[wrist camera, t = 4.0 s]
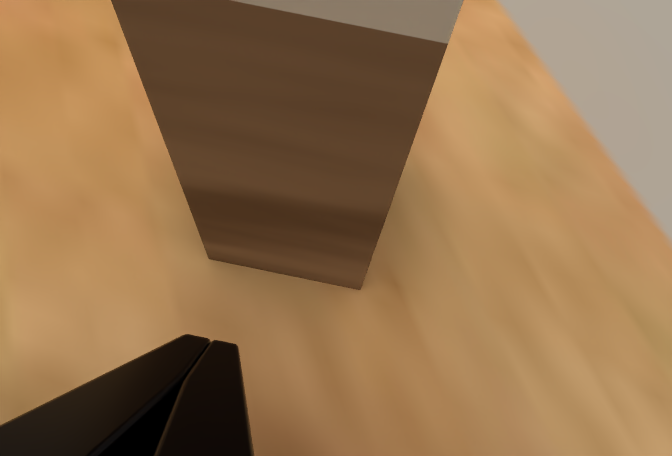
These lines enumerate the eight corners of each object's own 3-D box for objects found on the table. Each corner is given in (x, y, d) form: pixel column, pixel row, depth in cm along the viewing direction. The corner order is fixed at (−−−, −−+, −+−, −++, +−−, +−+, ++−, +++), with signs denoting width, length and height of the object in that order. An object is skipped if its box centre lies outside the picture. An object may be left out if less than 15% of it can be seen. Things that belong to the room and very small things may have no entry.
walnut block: (360, 289, 18) (463, -1, 7) (209, 258, 18) (82, -77, 7) (383, 159, 20) (492, -220, 9) (248, 132, 20) (195, -277, 9)
